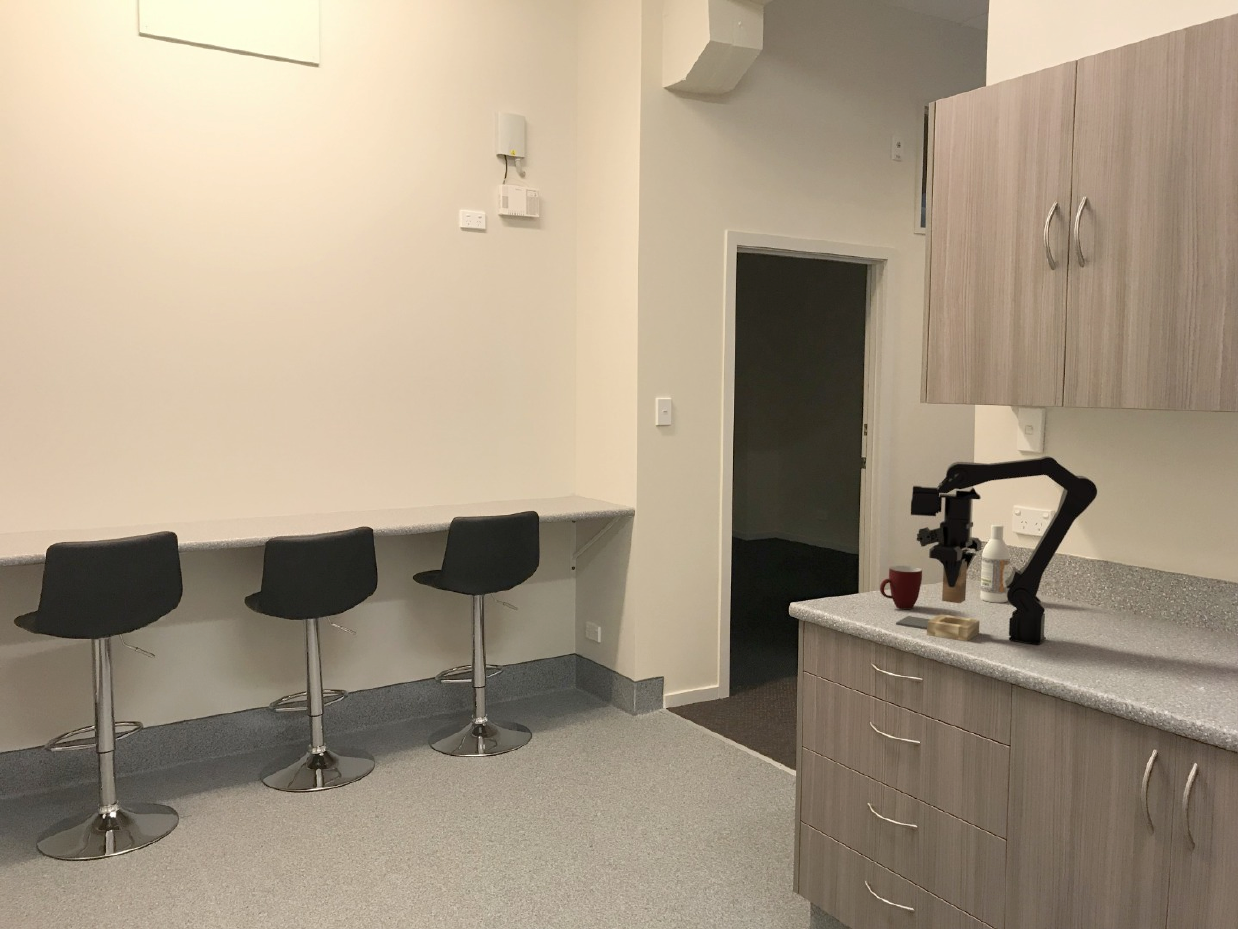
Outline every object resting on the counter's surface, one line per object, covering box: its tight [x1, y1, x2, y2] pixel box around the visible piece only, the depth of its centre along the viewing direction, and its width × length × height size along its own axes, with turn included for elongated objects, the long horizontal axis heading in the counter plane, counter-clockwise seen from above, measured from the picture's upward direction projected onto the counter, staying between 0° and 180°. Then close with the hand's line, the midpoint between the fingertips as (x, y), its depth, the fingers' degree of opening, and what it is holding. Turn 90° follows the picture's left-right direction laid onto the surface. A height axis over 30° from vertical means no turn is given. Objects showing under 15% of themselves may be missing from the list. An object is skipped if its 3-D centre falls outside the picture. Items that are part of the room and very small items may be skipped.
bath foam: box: [979, 524, 1011, 604], centre depth 258 cm, size 7×7×20 cm
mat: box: [895, 615, 931, 630], centre depth 234 cm, size 8×8×1 cm
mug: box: [879, 565, 923, 610], centre depth 250 cm, size 11×8×10 cm
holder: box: [926, 614, 980, 642], centre depth 225 cm, size 9×9×3 cm
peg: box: [941, 561, 968, 604], centre depth 224 cm, size 4×4×9 cm
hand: (954, 585), depth 224 cm, fingers closed on peg, 4 cm apart
